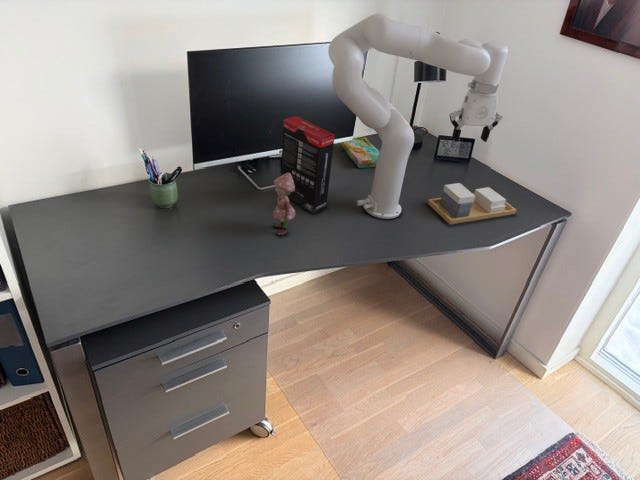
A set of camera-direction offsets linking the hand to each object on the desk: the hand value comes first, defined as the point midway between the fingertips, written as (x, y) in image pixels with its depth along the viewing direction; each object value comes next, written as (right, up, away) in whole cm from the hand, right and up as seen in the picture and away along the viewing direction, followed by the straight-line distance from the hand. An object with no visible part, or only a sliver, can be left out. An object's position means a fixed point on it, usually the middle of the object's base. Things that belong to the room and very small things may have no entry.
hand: (469, 140), depth 158 cm
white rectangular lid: (-1, -17, +9) cm, 19 cm away
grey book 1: (-1, -20, +11) cm, 22 cm away
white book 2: (+12, -18, +17) cm, 27 cm away
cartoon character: (-59, -29, -5) cm, 66 cm away
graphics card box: (-54, -19, +10) cm, 58 cm away
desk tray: (+5, -21, +16) cm, 27 cm away
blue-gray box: (-2, -22, +12) cm, 25 cm away
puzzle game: (-31, +1, +42) cm, 52 cm away
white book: (+12, -20, +18) cm, 29 cm away
